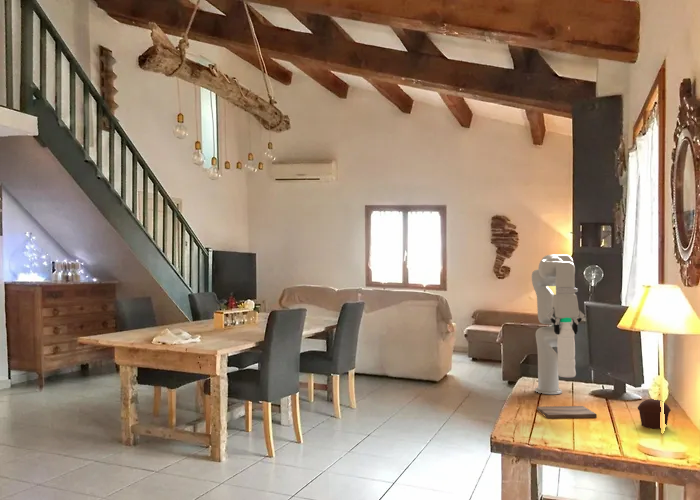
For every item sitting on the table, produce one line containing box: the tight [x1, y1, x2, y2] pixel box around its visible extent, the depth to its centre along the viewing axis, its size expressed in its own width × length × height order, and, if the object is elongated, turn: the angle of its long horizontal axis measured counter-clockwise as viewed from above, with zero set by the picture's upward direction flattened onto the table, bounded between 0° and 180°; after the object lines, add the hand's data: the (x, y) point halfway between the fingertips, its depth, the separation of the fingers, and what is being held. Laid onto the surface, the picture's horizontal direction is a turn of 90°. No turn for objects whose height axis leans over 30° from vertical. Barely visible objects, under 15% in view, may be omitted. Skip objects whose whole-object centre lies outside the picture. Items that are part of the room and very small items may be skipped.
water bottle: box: [556, 317, 577, 378], centre depth 258 cm, size 7×7×25 cm
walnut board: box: [536, 405, 598, 419], centre depth 257 cm, size 14×20×2 cm
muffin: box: [637, 398, 672, 430], centre depth 238 cm, size 12×11×10 cm
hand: (565, 333), depth 258 cm, fingers closed on water bottle, 6 cm apart
